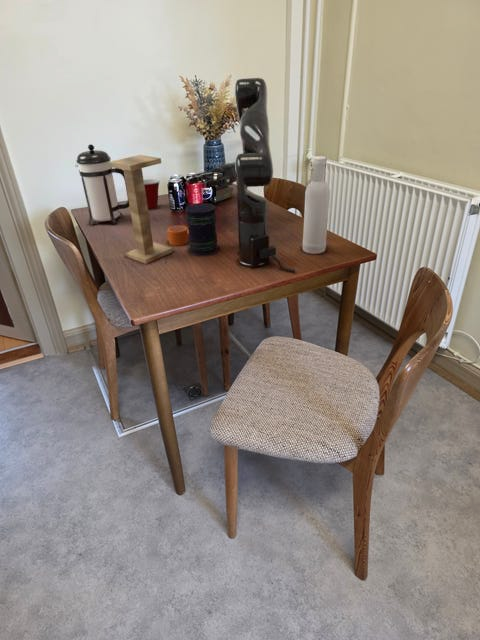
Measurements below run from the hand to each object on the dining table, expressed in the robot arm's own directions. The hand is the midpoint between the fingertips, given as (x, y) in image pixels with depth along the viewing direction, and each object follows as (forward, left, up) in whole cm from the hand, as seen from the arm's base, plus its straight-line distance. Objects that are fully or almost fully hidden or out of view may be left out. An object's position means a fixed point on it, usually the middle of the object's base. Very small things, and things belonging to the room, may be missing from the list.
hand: (197, 183), depth 152 cm
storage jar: (-16, +7, -19) cm, 26 cm away
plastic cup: (+42, +4, -19) cm, 46 cm away
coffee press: (+36, +25, -19) cm, 48 cm away
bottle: (-38, -24, -19) cm, 49 cm away
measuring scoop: (-2, +6, -18) cm, 19 cm away
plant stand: (-9, +24, -18) cm, 32 cm away
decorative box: (+32, -24, -19) cm, 44 cm away
